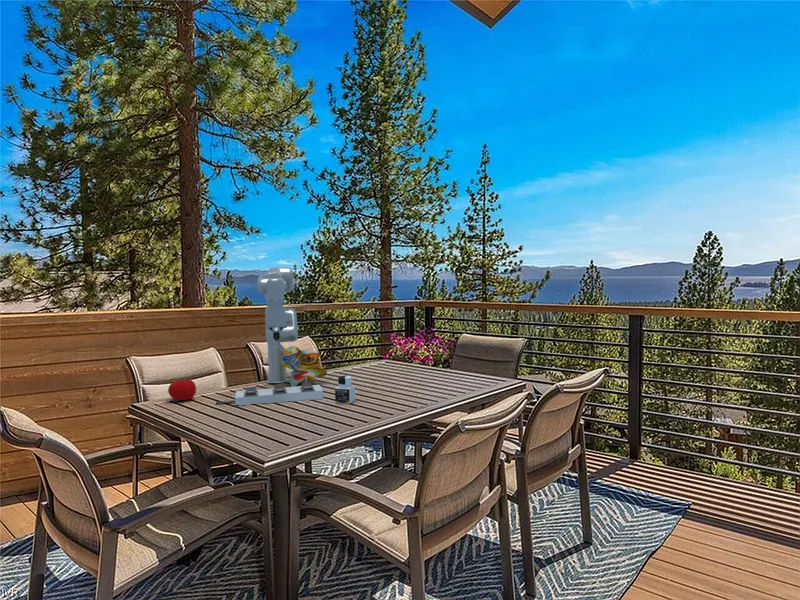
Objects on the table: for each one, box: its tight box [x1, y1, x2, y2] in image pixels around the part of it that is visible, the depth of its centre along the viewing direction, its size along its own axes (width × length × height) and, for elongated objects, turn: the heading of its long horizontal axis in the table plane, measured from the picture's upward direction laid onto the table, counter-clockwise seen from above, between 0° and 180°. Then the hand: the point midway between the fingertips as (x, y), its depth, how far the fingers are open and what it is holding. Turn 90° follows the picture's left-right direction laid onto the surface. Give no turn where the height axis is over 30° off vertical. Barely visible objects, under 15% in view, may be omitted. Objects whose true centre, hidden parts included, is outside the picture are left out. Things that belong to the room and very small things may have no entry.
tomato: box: [167, 377, 197, 401], centre depth 254 cm, size 13×12×11 cm
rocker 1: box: [245, 386, 257, 395], centre depth 244 cm, size 7×4×2 cm, turn 16°
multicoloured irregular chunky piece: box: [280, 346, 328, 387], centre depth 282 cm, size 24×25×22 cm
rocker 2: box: [301, 382, 313, 391], centre depth 251 cm, size 7×4×2 cm, turn 16°
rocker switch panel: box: [215, 384, 324, 406], centre depth 249 cm, size 14×49×5 cm, turn 106°
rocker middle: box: [273, 383, 285, 393], centre depth 248 cm, size 7×4×2 cm, turn 16°
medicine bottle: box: [334, 375, 356, 405], centre depth 242 cm, size 7×7×12 cm
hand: (276, 340), depth 260 cm, fingers closed
